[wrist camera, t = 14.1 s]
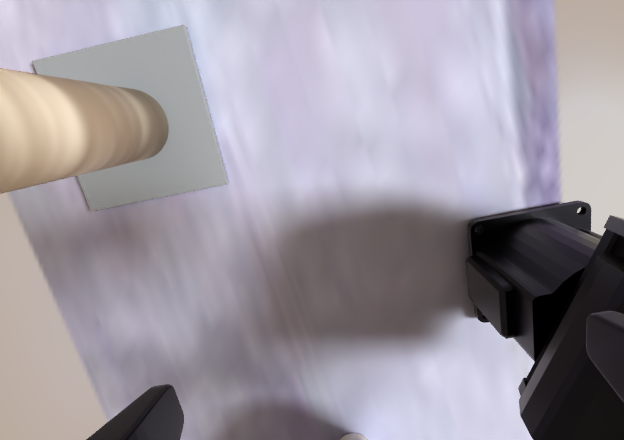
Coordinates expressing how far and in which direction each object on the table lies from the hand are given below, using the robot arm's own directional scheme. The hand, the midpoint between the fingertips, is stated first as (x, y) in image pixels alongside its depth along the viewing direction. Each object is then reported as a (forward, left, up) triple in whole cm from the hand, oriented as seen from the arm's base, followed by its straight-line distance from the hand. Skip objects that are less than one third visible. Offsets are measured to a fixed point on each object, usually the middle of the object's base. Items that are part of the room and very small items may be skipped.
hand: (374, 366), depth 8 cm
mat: (+10, -7, -13) cm, 18 cm away
